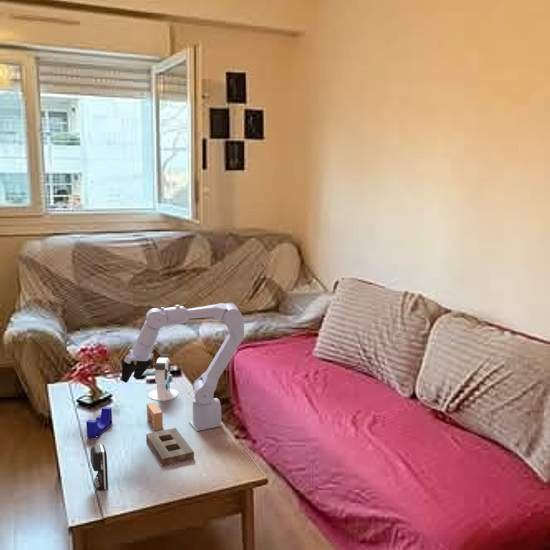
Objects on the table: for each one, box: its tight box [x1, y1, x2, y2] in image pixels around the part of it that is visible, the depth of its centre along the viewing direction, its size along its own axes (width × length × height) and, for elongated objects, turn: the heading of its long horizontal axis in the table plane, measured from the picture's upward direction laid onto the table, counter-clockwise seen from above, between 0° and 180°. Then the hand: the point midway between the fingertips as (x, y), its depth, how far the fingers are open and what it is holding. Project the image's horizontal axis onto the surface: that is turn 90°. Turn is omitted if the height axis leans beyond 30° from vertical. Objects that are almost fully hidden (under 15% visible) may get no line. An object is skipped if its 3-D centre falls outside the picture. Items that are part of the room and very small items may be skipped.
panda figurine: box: [148, 353, 179, 402], centre depth 230 cm, size 12×11×15 cm
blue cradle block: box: [86, 406, 113, 439], centre depth 201 cm, size 12×4×6 cm, turn 169°
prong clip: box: [146, 402, 164, 431], centre depth 207 cm, size 3×9×6 cm, turn 27°
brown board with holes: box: [145, 427, 195, 467], centre depth 189 cm, size 10×18×2 cm, turn 27°
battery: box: [89, 443, 109, 491], centre depth 168 cm, size 7×4×11 cm, turn 25°
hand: (130, 379), depth 198 cm, fingers open, 7 cm apart
